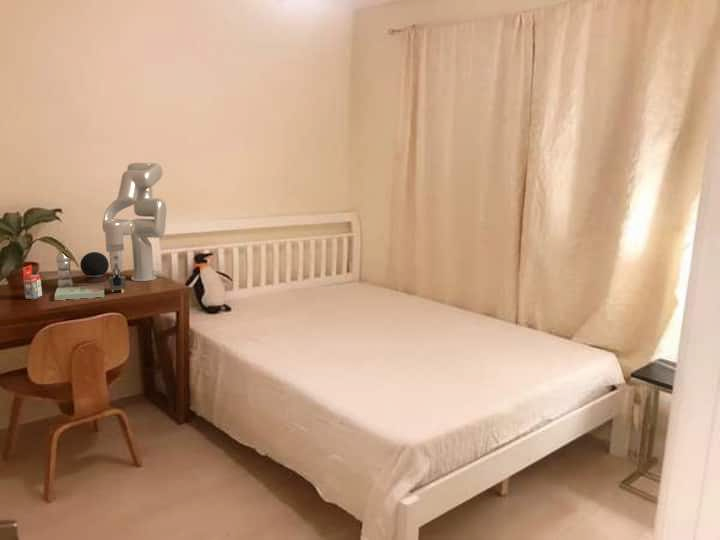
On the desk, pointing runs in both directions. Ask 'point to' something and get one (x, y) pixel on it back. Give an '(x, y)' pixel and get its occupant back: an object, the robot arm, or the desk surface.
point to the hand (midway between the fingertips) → (117, 283)
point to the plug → (112, 287)
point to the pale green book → (79, 292)
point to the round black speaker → (94, 267)
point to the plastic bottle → (63, 270)
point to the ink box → (31, 284)
